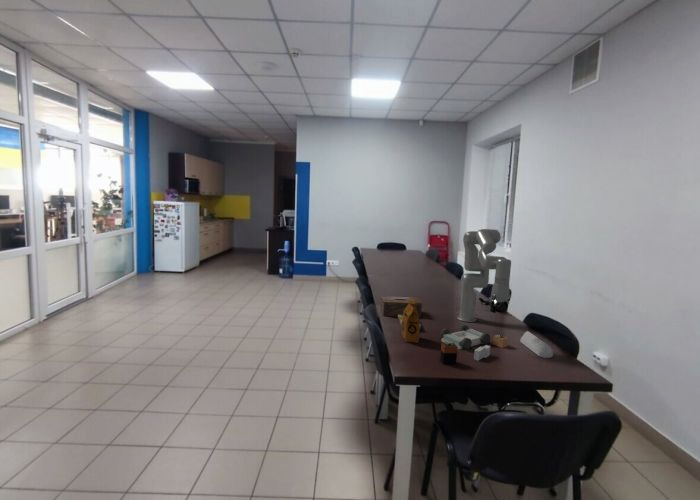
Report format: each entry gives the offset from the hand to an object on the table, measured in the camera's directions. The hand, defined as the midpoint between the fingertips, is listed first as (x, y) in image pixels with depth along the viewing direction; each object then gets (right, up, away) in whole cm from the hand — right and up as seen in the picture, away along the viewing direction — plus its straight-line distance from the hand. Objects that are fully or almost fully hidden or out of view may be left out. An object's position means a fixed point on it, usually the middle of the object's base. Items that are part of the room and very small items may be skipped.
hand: (498, 311), depth 209 cm
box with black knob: (+1, -19, +2) cm, 20 cm away
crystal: (+19, -21, -2) cm, 29 cm away
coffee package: (-49, -17, +5) cm, 52 cm away
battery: (-34, -21, -24) cm, 47 cm away
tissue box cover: (-48, -10, +53) cm, 72 cm away
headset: (+26, -11, +74) cm, 79 cm away
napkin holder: (-14, -22, -16) cm, 30 cm away
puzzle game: (-46, -14, +28) cm, 55 cm away
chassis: (-18, -18, +5) cm, 26 cm away
